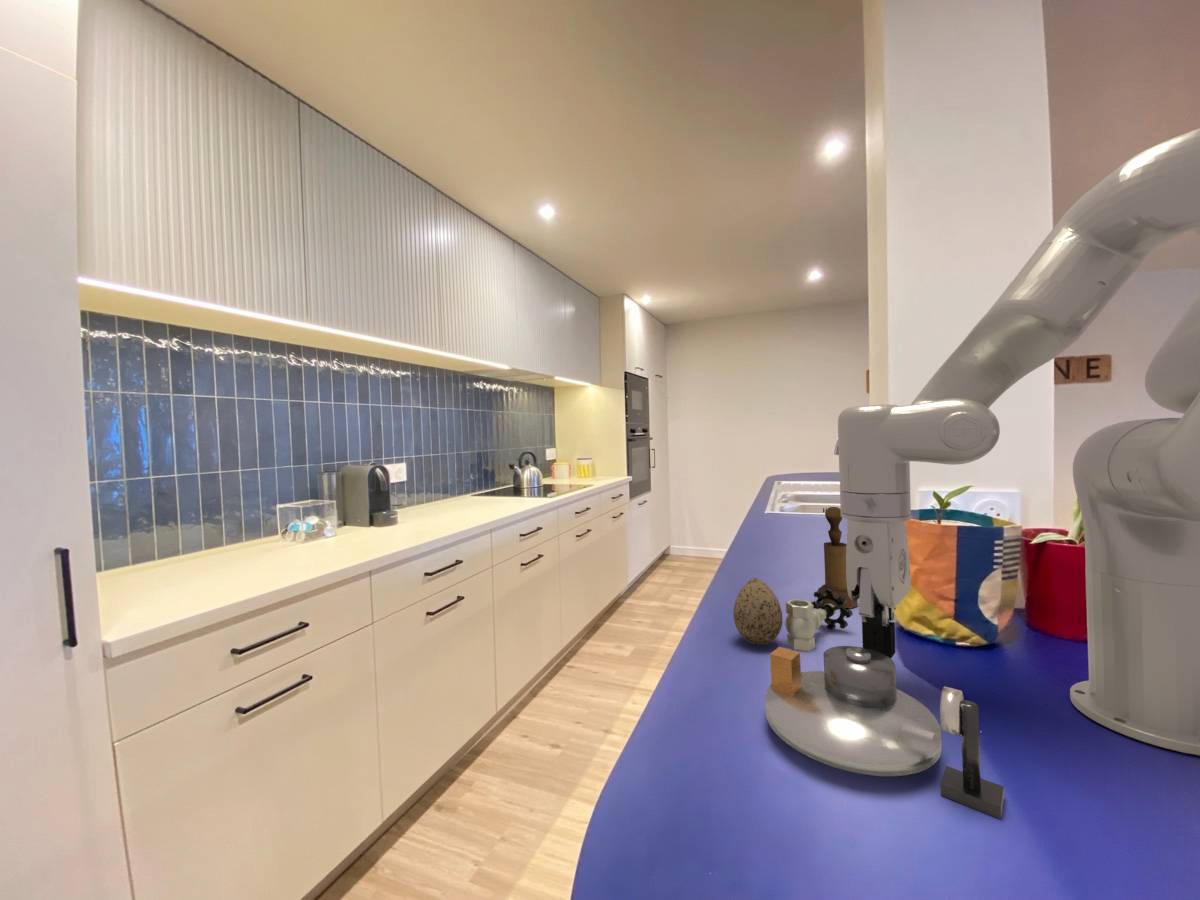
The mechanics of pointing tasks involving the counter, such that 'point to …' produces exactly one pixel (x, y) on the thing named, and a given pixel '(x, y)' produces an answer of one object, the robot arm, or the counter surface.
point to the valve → (812, 618)
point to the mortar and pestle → (835, 561)
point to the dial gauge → (967, 757)
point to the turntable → (848, 724)
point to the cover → (860, 676)
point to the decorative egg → (757, 613)
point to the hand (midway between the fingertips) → (879, 653)
